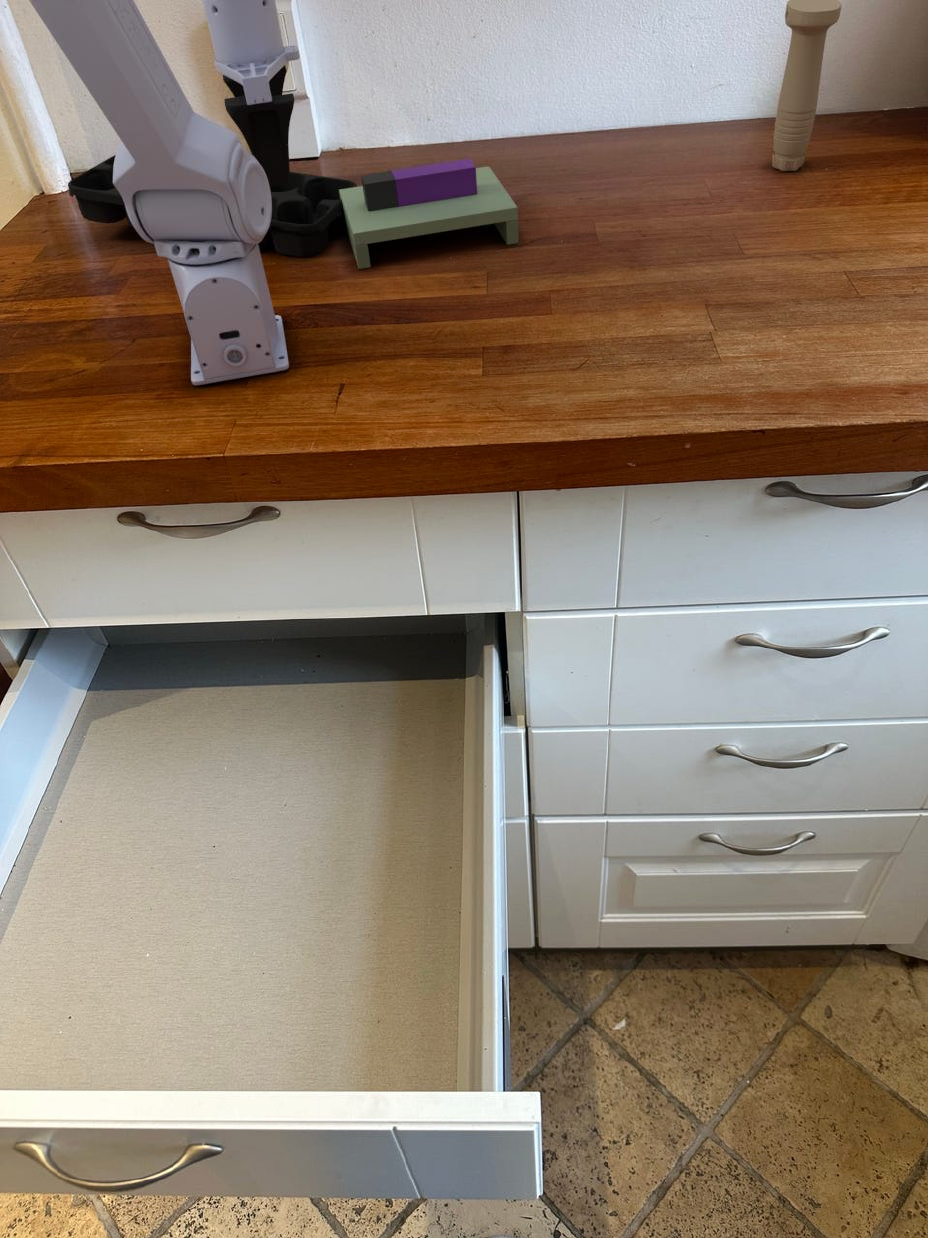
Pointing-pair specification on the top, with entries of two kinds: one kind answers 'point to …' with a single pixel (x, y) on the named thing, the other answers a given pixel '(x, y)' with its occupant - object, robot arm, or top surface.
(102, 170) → the egg carton
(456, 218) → the shelf
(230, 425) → the top surface
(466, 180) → the marker
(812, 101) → the handle
